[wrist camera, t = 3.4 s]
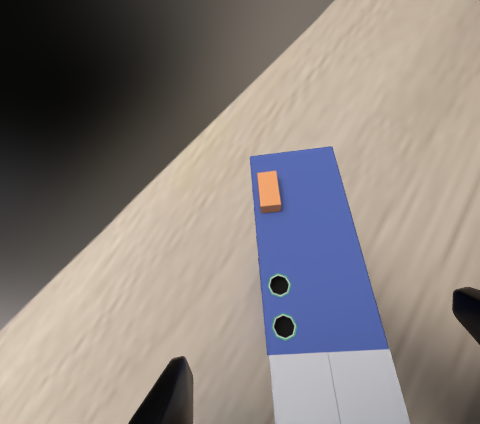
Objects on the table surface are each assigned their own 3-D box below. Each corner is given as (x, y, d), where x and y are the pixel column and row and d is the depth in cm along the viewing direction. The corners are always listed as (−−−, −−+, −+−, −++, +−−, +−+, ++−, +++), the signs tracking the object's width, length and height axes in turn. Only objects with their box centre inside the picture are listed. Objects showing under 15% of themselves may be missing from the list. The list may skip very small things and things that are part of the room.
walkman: (263, 253, 19) (247, 148, 8) (300, 250, 18) (335, 137, 8) (275, 377, 15) (275, 486, 4) (321, 375, 15) (437, 486, 4)
